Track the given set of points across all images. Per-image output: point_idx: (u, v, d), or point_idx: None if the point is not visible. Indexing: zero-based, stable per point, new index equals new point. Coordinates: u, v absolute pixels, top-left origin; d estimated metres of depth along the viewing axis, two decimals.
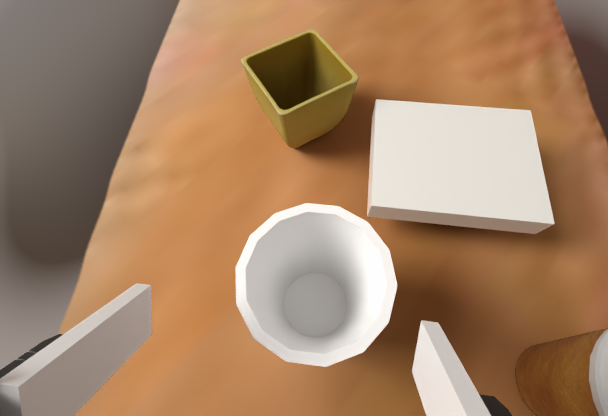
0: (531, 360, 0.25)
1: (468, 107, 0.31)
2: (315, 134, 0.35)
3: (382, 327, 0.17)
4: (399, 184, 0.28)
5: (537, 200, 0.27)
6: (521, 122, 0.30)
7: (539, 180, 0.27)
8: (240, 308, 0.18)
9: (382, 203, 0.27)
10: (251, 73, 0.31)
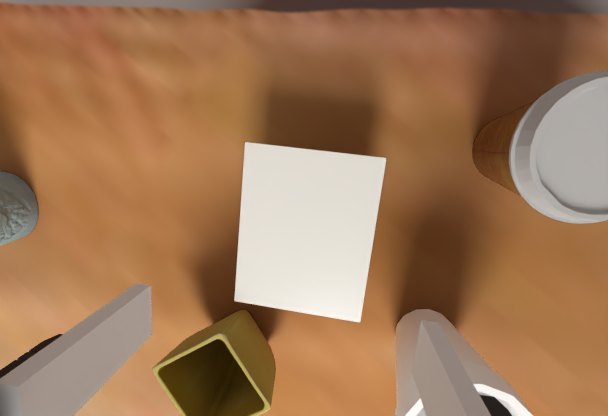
0: (494, 180, 0.29)
1: (242, 209, 0.28)
2: (259, 335, 0.35)
3: (515, 400, 0.21)
4: (338, 294, 0.28)
5: (360, 167, 0.26)
6: (261, 156, 0.27)
7: (335, 159, 0.26)
8: None
9: (357, 312, 0.29)
10: None
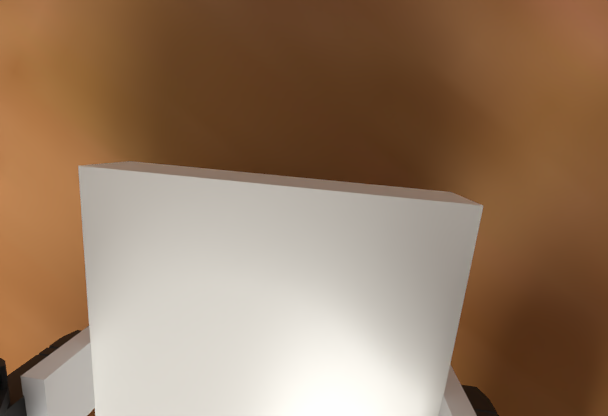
0: None
1: (94, 336, 0.11)
2: None
3: None
4: None
5: (403, 232, 0.09)
6: (126, 204, 0.10)
7: (332, 209, 0.09)
8: None
9: None
10: None
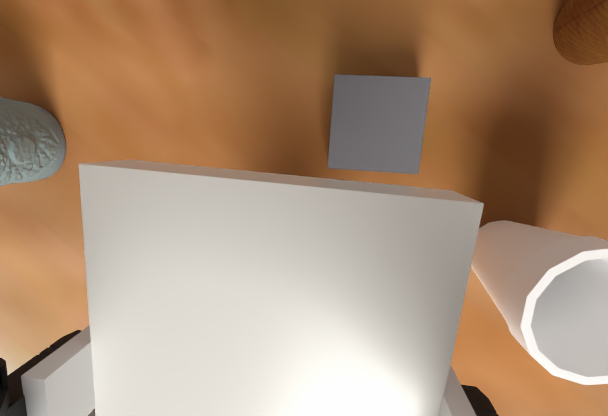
0: (585, 55, 0.26)
1: (95, 334, 0.11)
2: None
3: None
4: None
5: (404, 230, 0.09)
6: (127, 202, 0.10)
7: (333, 207, 0.09)
8: None
9: None
10: None
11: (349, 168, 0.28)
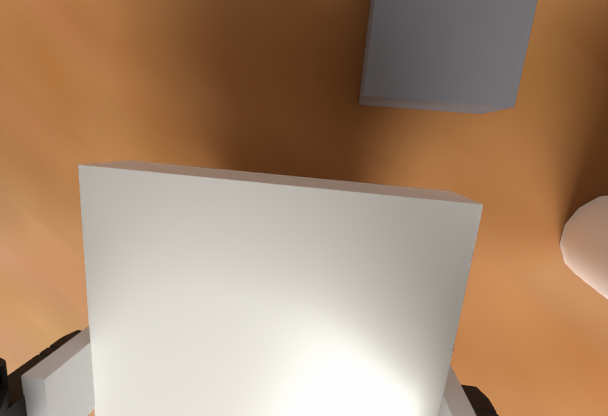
0: None
1: (94, 335, 0.11)
2: None
3: None
4: None
5: (403, 231, 0.09)
6: (126, 203, 0.10)
7: (332, 208, 0.09)
8: None
9: None
10: None
11: (399, 96, 0.17)
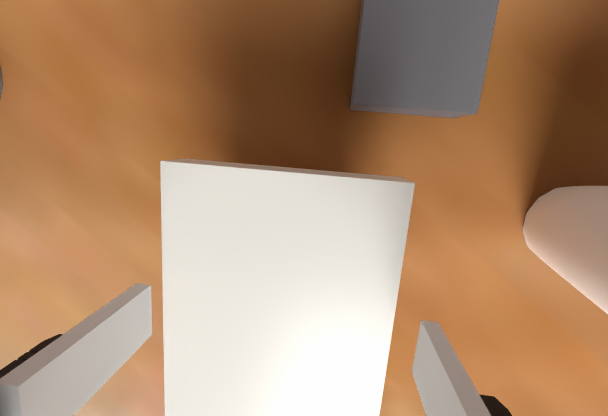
0: None
1: (165, 275, 0.16)
2: None
3: None
4: (335, 410, 0.17)
5: (367, 200, 0.15)
6: (191, 185, 0.15)
7: (323, 186, 0.15)
8: None
9: None
10: None
11: (383, 104, 0.21)
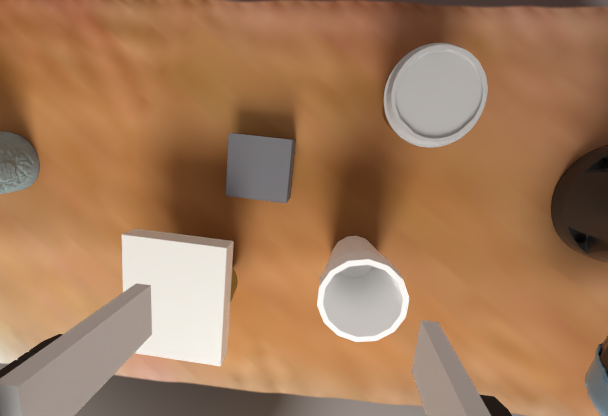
0: None
1: (124, 283, 0.36)
2: None
3: (391, 269, 0.31)
4: (202, 346, 0.37)
5: (208, 254, 0.34)
6: (135, 245, 0.35)
7: (190, 247, 0.35)
8: (378, 338, 0.33)
9: (218, 359, 0.37)
10: None
11: (240, 196, 0.41)
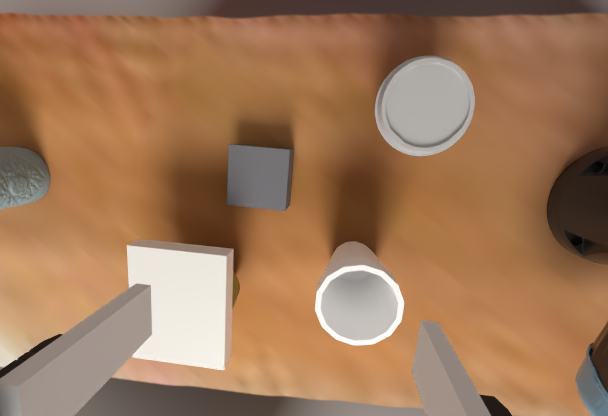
0: None
1: None
2: None
3: (385, 274, 0.32)
4: (206, 351, 0.38)
5: (209, 262, 0.36)
6: (139, 255, 0.37)
7: (191, 256, 0.36)
8: (375, 342, 0.34)
9: (221, 363, 0.39)
10: None
11: (240, 205, 0.42)
